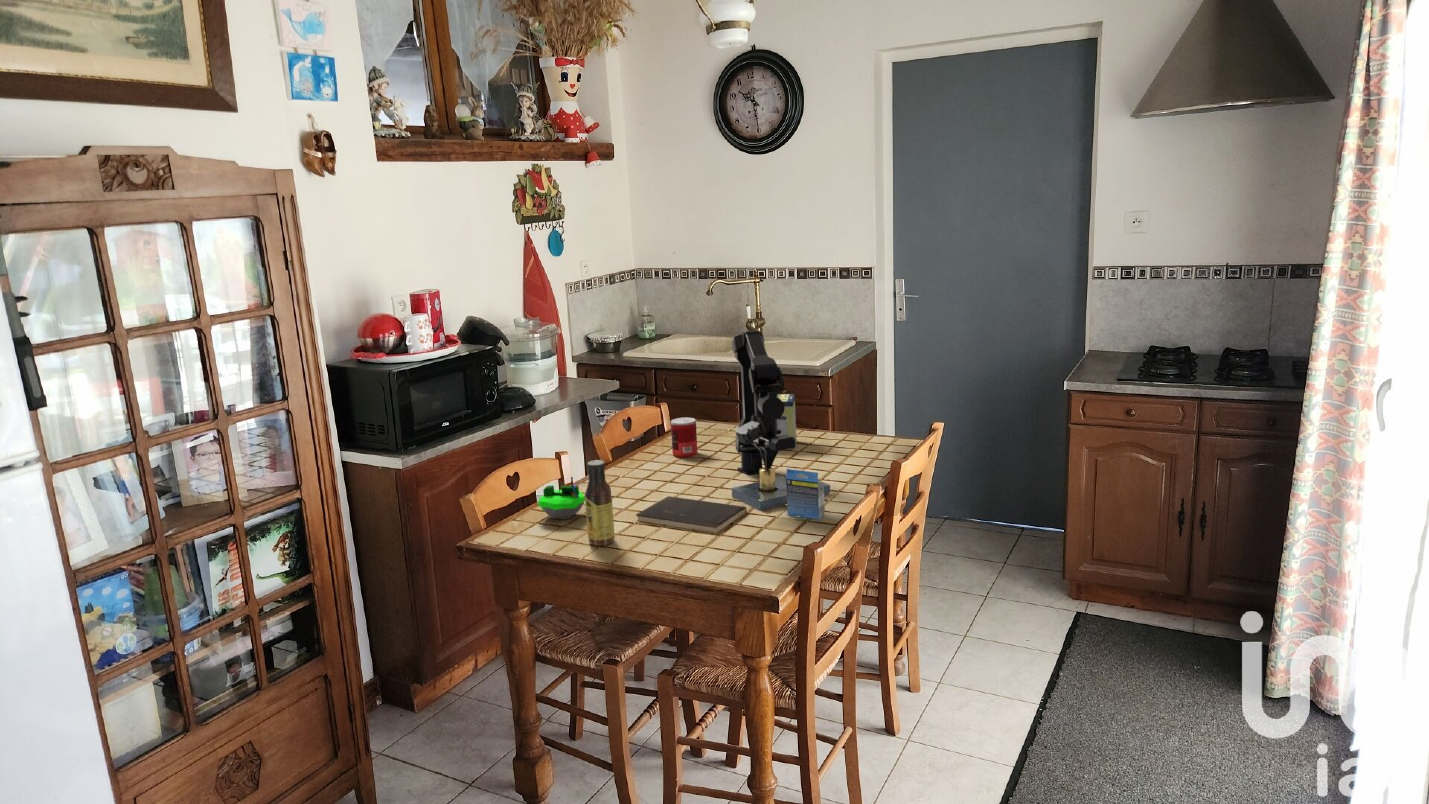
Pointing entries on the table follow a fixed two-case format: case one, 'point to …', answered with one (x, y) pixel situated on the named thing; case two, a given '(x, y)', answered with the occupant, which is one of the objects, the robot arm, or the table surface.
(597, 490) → the sauce bottle
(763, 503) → the jig
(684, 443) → the canned food
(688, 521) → the hardcover book
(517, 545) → the table surface
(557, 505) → the green floating island model
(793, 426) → the protein box
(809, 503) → the label tape box
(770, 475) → the cylinder
